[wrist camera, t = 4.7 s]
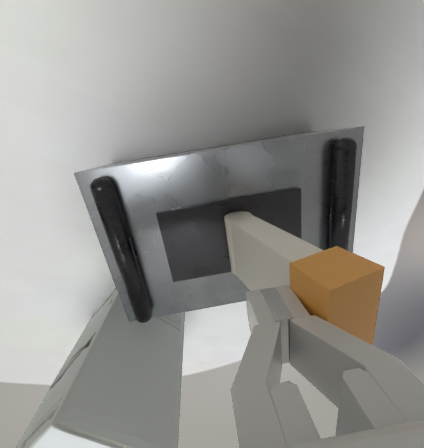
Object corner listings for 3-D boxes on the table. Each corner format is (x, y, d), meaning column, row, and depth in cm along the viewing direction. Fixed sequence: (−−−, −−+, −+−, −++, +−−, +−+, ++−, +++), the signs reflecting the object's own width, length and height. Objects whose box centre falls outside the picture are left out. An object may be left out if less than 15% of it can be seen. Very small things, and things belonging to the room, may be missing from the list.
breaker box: (110, 163, 18) (62, 175, 11) (311, 131, 18) (380, 124, 12) (145, 276, 22) (124, 335, 15) (310, 247, 22) (361, 291, 16)
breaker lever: (216, 213, 13) (329, 290, 6) (246, 205, 14) (384, 267, 6) (224, 270, 14) (324, 391, 7) (251, 261, 15) (369, 364, 8)
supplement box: (128, 270, 22) (50, 425, 10) (187, 306, 24) (182, 469, 12) (87, 318, 23) (-22, 502, 11) (146, 348, 25) (107, 529, 13)
